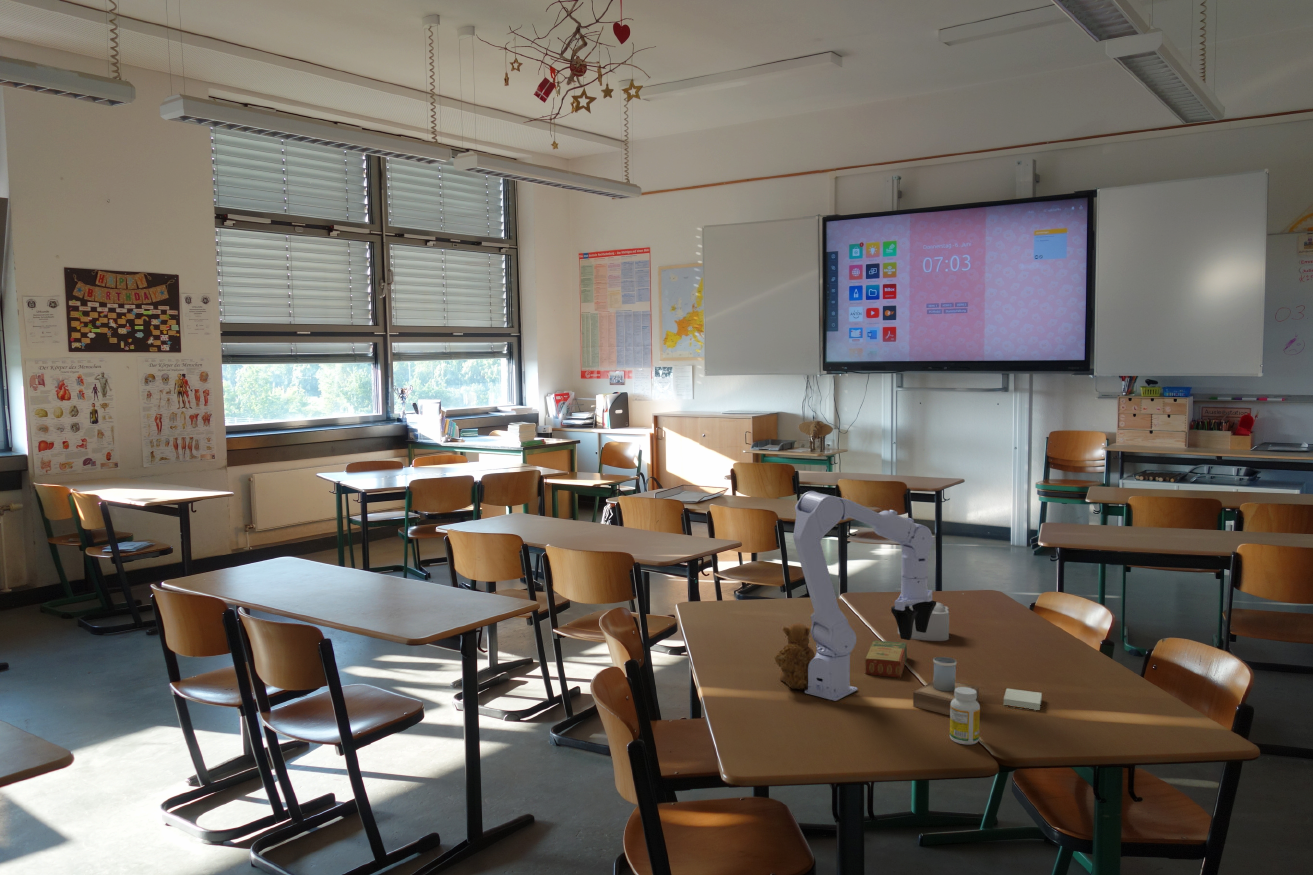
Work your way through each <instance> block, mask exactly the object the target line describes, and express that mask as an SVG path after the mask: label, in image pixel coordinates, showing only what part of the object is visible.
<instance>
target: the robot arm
mask: <svg viewBox="0 0 1313 875" xmlns="http://www.w3.org/2000/svg"><path fill="white" fill-rule="evenodd" d="M794 509H795V513H796V517H795V521H794V529H793V543H794V545H795V550H796V552H797V556H798V560H799V563H800V567H801V570H802V573H803V578H804V580H805V584H806V587H807V591H808V594H809V597H810V601H811V605H812V608H813V609H812V610H813V613H812V614H811V615H810V620H811V632H810V636H811V637H812V640H813V641H814V642H815V643H816V644H815V647H816V653H815V657H814V658H813V659H812V660H811V661H810V663H809V666H808V687H807V689H806V690H804V693H805V694H806V695H807V694H808V695H811V696H815V697H817V698H818V697H819V698H823V699H827V700H829V701H834V702H836V701H838V700H841V699H843V698H845V697H847V696H848V695H850V694H853V693H854V692H856V691H858V687H856V686H851V684H850V681H851V679H850V677H851V676H850V675H851V671H850V669H851V664H850V663H851V659H850V658H851V654H852V651H853V650H854V648H855V646H856V644H857V635H856V632H855V630H854V629H853V628H852V627H851V626H850V624H849V621H848V618H846V616H845V614H844V613H843V612H842V610H841V609H840V607H839V604H838V601H837V596H836V593H835V589H834V586H833V582H832V578H831V575H830V572H829V568H828V564H827V561H826V558H825V554H824V550H823V547H822V544H821V541H822V539H823V538H824V536H825V535H826V534H828V532H830V531H831V530H832V529H833V528H834V527H835V526H836V525H837V524H839V522H840V521H841V520H843V521H846V520H847V519H848V518H849V519H852V520H855V521H858V522H861V523H864V524H865V525H869V526H871V527H873V532H874V533H875V534H876V535H877V536H880V537H883V538H885V539H887V540H890V541H893V542H895V543H897V544H899V545H900V547H901V568H900V569H901V573H900V574H901V575H900V576H901V578H900V580H901V581H900V582H901V585H900V588H901V589H900V594H899V596H898V598H897V599H895V600H894V605H893V606H891V610H890V611H891V614H892V615H893V617H894V619H895V621H896V624H897V630H898V629H899V633H900V635H899V637H900V639H901V640H907V641H910V640H912V639H911V636H912V629H913V623H914V619H915V627H916V631H917V632H922V633H926V631H927V627H928V623H929V619H930V616H931V614H932V611H933V609H934V608H935V606H936V602H937V601H935V600H933V590H932V589H928V576H929V575H928V572H929V571H928V570H929V566H928V565H929V564H928V563H929V561H928V560H929V556H930V550H931V547H932V546H933V544H934V541H935V537H934V536H933V533H932V531H931V530H930V528H929V527H928V526H926V525H923V524H920V523H915V520H914V519H913V518H910V517H907V518H905V517H903V516H900V515H899V514H898V511H896V510H893V509H889V510H882V511H880V512H877V511H875V510H873V509H870V508H868V507H866V506H864V505H862V504H860V503H857V502H855V501H853V500H850V499H847V498H844V497H843V498H842V497H839V496H835V495H829V494H827V493H826V494H825V493H820V492H817V491H815V490H809V491H807V492H804V493H803V494H802V495H801V496H800V498H799V500H798V501H797V502H796V504H795V506H794ZM909 606H912V607H913V610H911V608H910V609H909Z"/></svg>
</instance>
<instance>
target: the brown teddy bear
mask: <svg viewBox="0 0 1313 875" xmlns="http://www.w3.org/2000/svg"><path fill="white" fill-rule="evenodd" d="M811 628H812V626H806V625H805V624H803V623H799V622H797V623H793V624H791V625H790V626H789V627H785V626H782V628H781V630H782V632H783V633H784V635H785V636H784V637H786V638H787V644H786V645H784V647H783V648H782V649H780V650H779V651H778V652H779V653H777V654H776V655H775V656H774V657H773V658H774V660H775V662H774V664H777V665H778V667H779V668H780V669H781V670H780V672H779V681H781V682H783V683H785V684H786V685H788V687H790V688H791V689H792V690H804V691H805V690H807V689H808V666H809V663H810V661H811V660H812V659H813V658H814V657H815V655H816V653H815V652H814V649H813V648H812V646H810V645H809V643H810V638H811Z"/></svg>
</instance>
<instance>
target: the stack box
mask: <svg viewBox="0 0 1313 875" xmlns="http://www.w3.org/2000/svg"><path fill="white" fill-rule="evenodd" d="M958 687H968V688H972V689H974V690H976V692H977V698H976V701H977V702H979V693H980V691H979V689H980V688H979V686H975V685H972V684H966V683H962V682H960V681H959V682H958V681H955V688H958ZM954 693H955V690H954V691H948V692H947V691H939V690H936V689H934V688H933V680H932V681H931V682H929V683H927V684H925V685H924V686H922V687H920V688H918V689H917V690H915V691H913V694H912V695H913V696H912V699H913V700H912V706H913V707H914V708H919V709H922V710H923V709H924V710H926V711H931V712H935V713H938V714H943V715H947V716H950V705H951V701H952V700H953V699H955V696H954Z"/></svg>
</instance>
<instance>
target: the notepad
mask: <svg viewBox="0 0 1313 875" xmlns="http://www.w3.org/2000/svg"><path fill="white" fill-rule="evenodd" d="M1042 695H1043V694H1042V692H1037V691H1029V690H1021V689H1014V688H1006V690H1005V693H1004V696H1003V706H1004V705H1010V706H1017V707H1024V708H1029V709H1034V710H1033V711H1036V710H1040V709H1041V706H1040V705H1042V701H1043V700H1042V697H1043V696H1042ZM1029 709H1028V710H1029Z"/></svg>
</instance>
